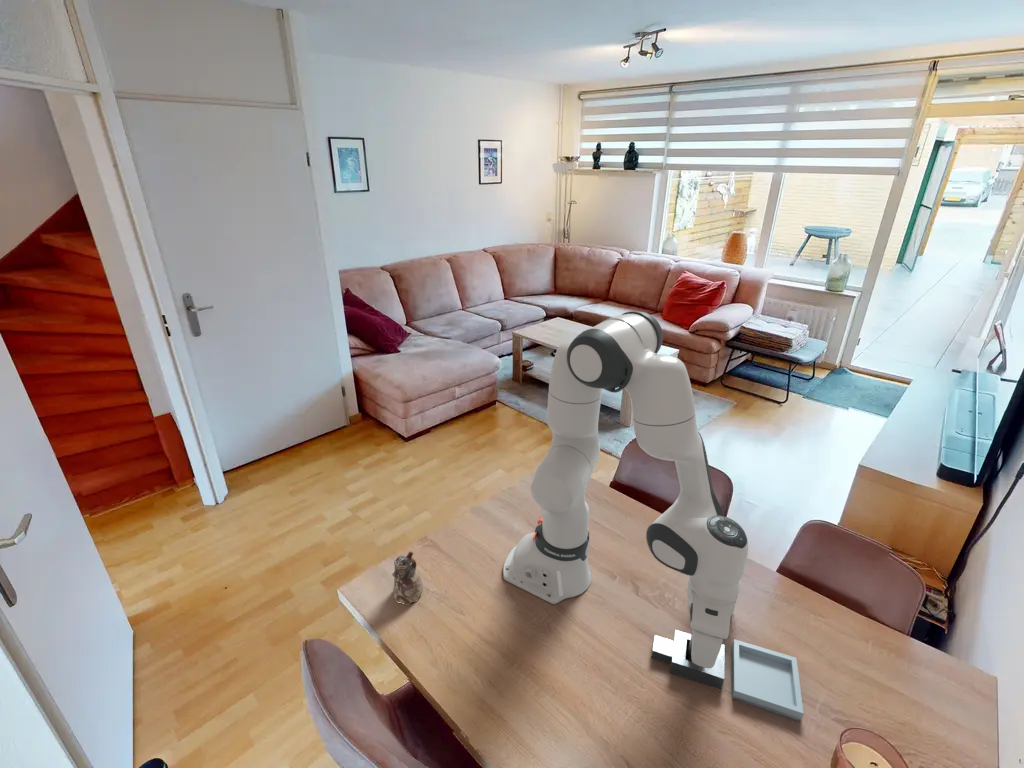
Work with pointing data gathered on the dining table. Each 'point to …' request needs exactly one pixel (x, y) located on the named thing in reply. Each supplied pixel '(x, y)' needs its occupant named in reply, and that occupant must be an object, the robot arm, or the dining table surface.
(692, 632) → the small capped bottle
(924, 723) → the dining table surface
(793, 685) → the parts tray
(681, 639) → the block
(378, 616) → the dining table surface
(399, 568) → the figurine
